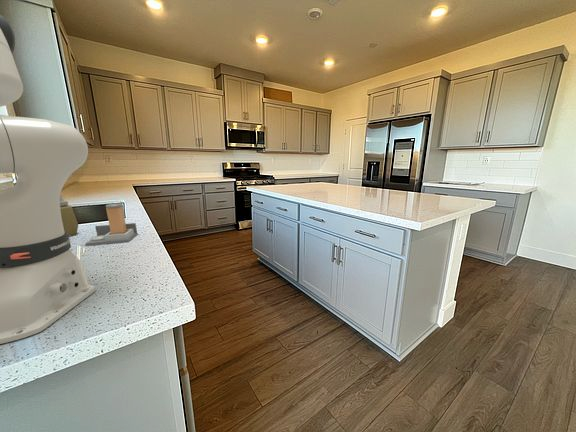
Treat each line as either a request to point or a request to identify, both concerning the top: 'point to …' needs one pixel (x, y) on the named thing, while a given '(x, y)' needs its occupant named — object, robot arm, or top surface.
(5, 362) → the top surface
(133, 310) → the top surface
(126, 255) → the top surface
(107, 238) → the housing
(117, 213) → the grey-capped orange post
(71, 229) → the squeeze bottle
